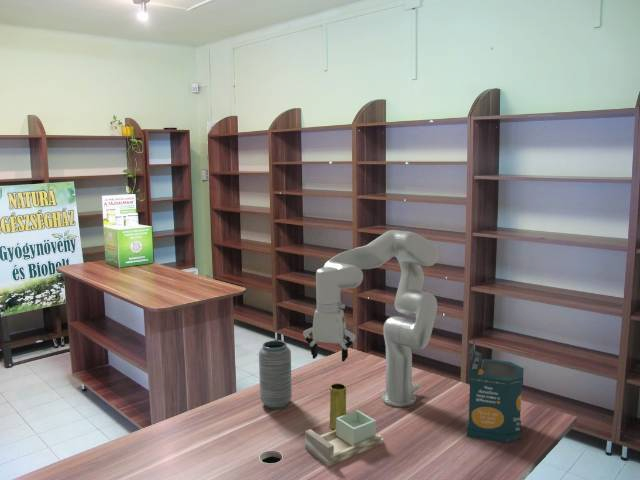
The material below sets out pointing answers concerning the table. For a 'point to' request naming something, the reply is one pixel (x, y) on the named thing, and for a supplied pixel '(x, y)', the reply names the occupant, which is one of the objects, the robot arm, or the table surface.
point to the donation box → (494, 399)
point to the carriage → (355, 427)
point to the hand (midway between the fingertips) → (329, 358)
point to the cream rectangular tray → (335, 446)
